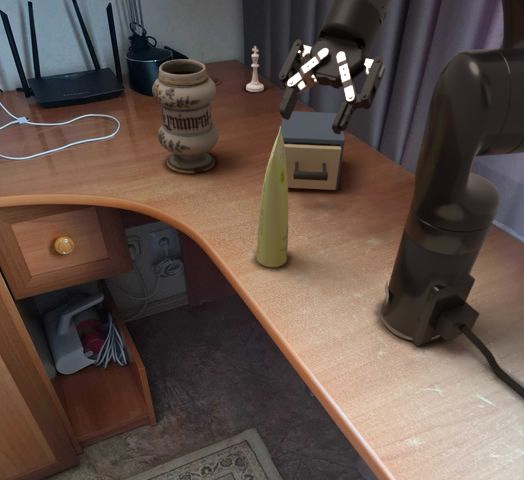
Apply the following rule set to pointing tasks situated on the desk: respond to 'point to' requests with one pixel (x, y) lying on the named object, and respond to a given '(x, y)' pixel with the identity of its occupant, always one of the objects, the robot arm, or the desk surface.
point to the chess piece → (255, 74)
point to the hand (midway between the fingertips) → (309, 124)
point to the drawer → (312, 165)
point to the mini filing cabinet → (312, 131)
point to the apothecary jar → (186, 115)
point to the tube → (274, 210)
